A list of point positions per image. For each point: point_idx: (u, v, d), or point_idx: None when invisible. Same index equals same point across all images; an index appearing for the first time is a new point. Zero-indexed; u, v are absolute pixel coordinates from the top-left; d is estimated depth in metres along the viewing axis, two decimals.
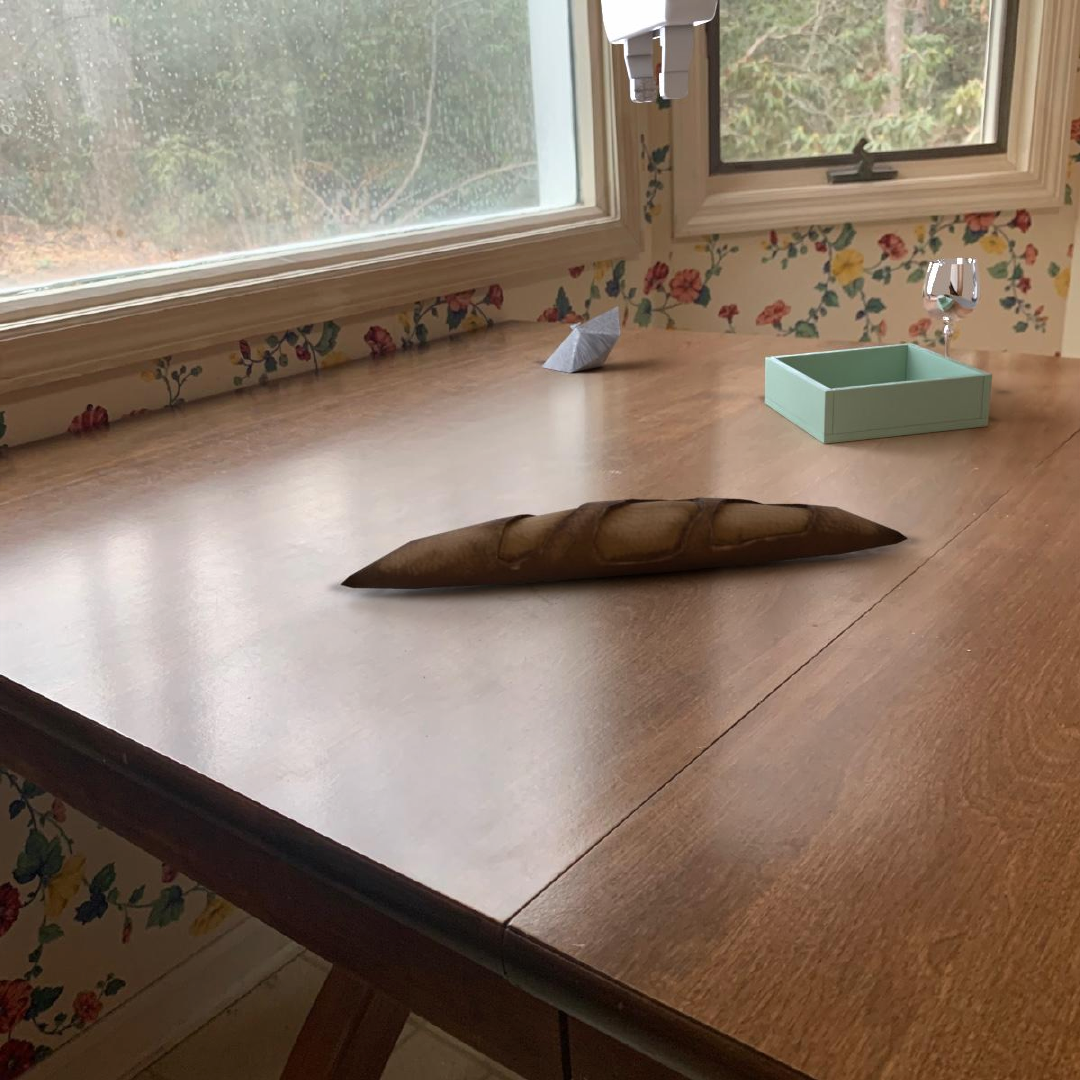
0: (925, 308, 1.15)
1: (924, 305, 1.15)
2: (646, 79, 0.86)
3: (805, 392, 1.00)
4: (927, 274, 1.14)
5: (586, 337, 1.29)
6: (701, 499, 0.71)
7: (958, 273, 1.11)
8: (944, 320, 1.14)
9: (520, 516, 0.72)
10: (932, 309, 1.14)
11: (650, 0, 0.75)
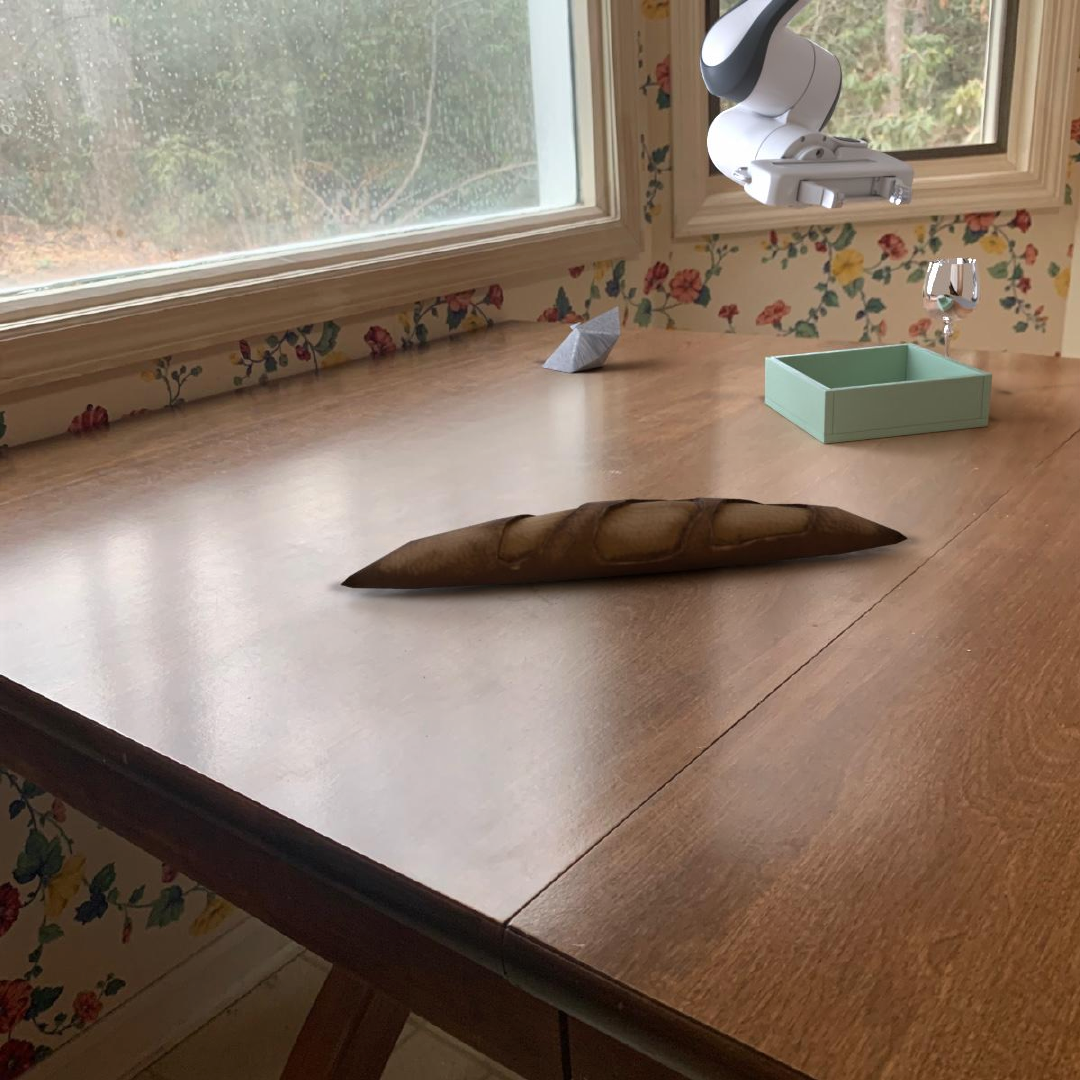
0: (925, 308, 1.15)
1: (924, 305, 1.15)
2: (892, 192, 1.22)
3: (805, 392, 1.00)
4: (927, 274, 1.14)
5: (586, 337, 1.29)
6: (701, 499, 0.71)
7: (958, 273, 1.11)
8: (944, 320, 1.14)
9: (520, 516, 0.72)
10: (932, 309, 1.14)
11: None
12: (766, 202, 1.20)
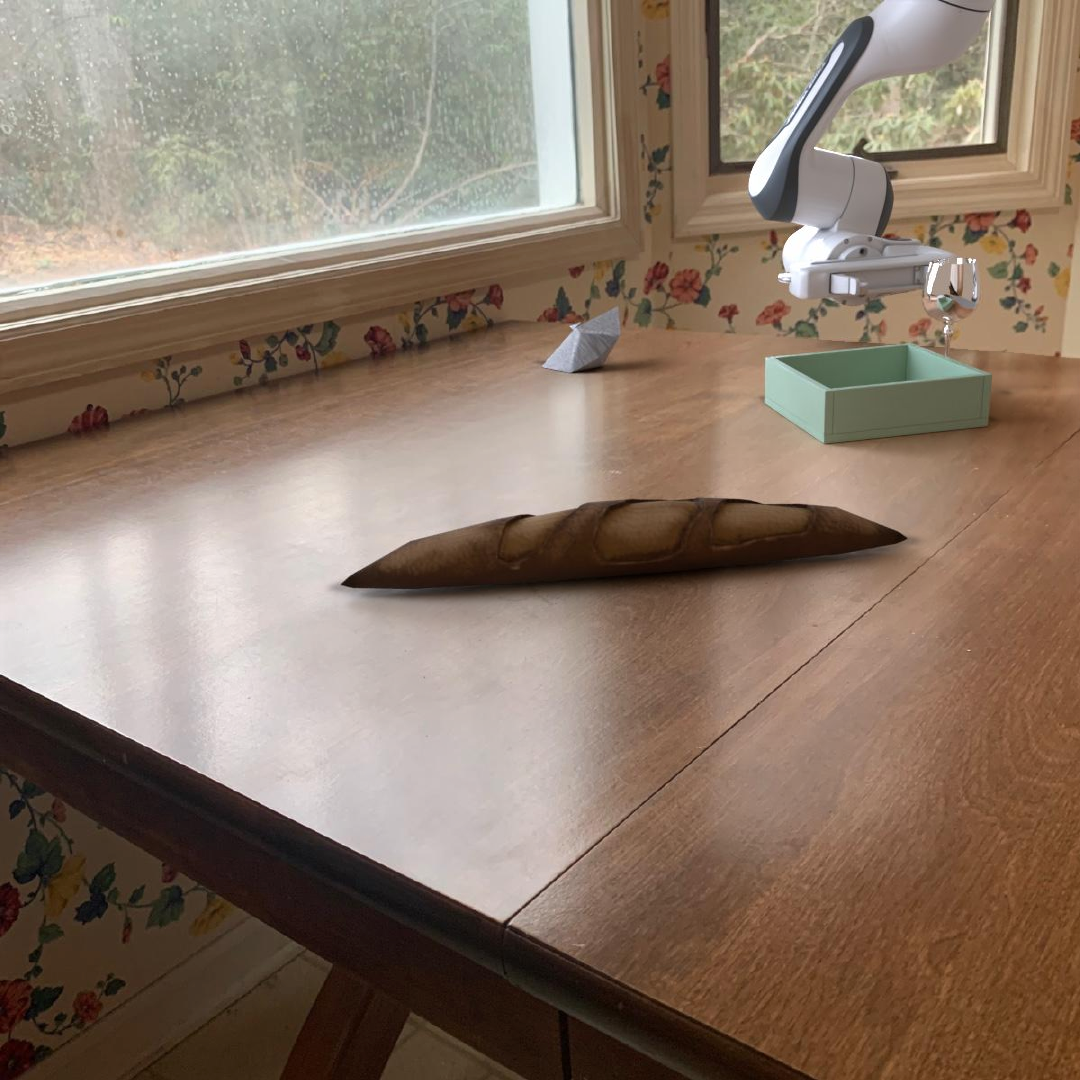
0: (925, 308, 1.15)
1: (924, 305, 1.15)
2: None
3: (805, 392, 1.00)
4: (927, 274, 1.14)
5: (586, 337, 1.29)
6: (701, 499, 0.71)
7: (958, 273, 1.11)
8: (944, 320, 1.14)
9: (520, 516, 0.72)
10: (932, 309, 1.14)
11: None
12: (800, 296, 1.30)
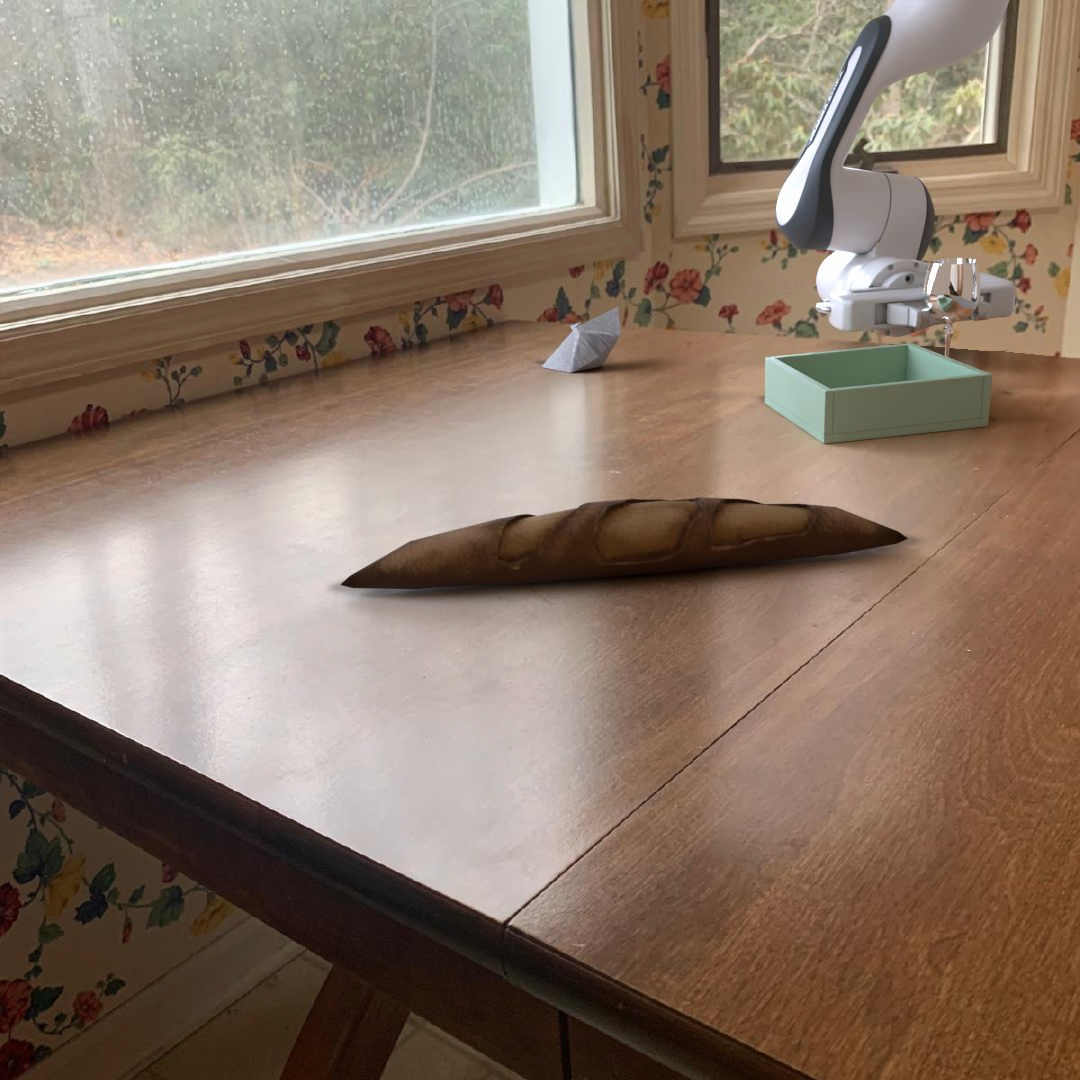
0: None
1: (924, 305, 1.15)
2: None
3: (805, 392, 1.00)
4: (927, 274, 1.14)
5: (586, 337, 1.29)
6: (701, 499, 0.71)
7: (958, 273, 1.11)
8: (944, 320, 1.14)
9: (520, 516, 0.72)
10: (932, 309, 1.14)
11: None
12: (842, 328, 1.19)
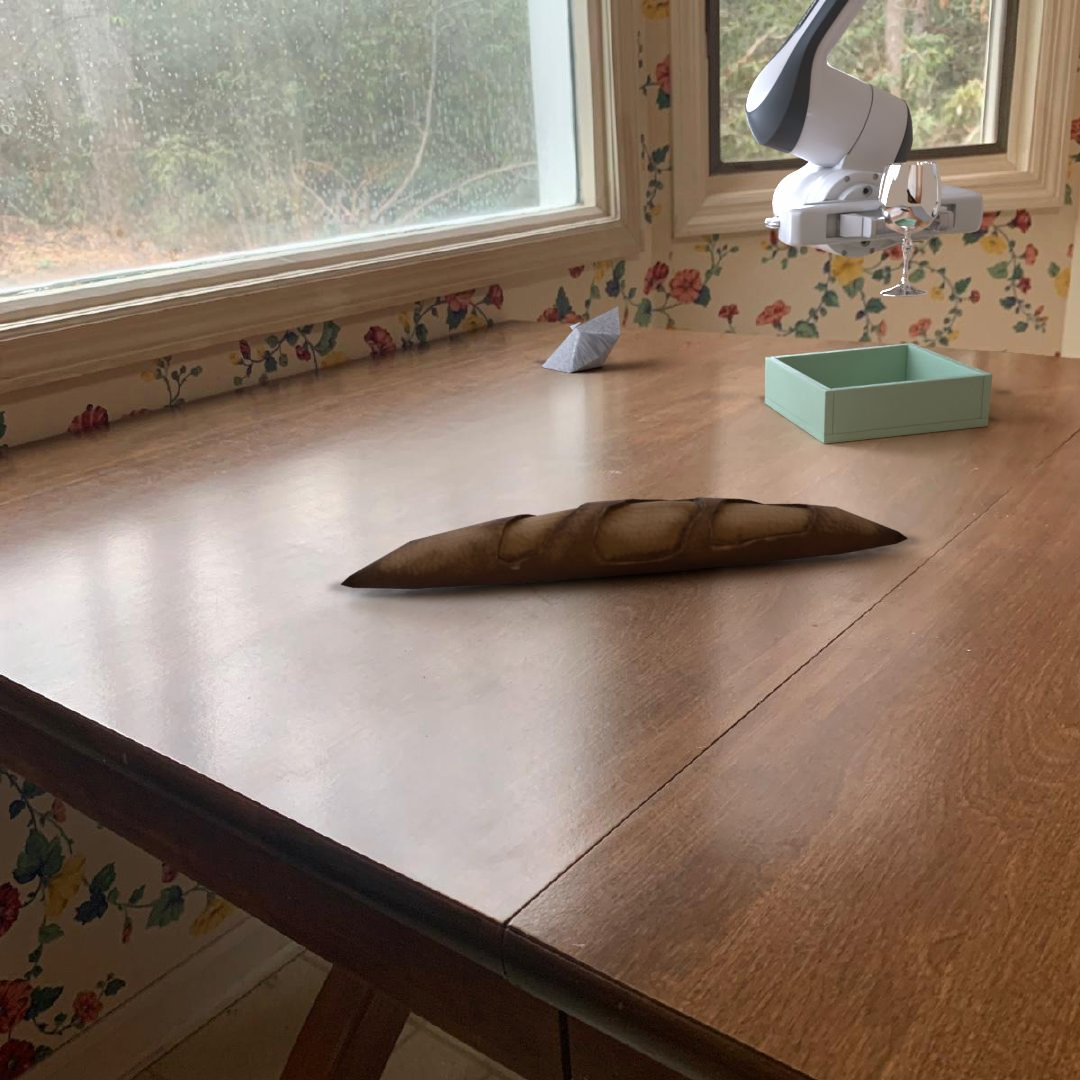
0: None
1: (880, 214, 1.04)
2: None
3: (805, 392, 1.00)
4: (883, 178, 1.03)
5: (586, 337, 1.29)
6: (701, 499, 0.71)
7: (916, 175, 1.00)
8: (902, 230, 1.03)
9: (520, 516, 0.72)
10: (888, 217, 1.03)
11: None
12: (790, 242, 1.08)
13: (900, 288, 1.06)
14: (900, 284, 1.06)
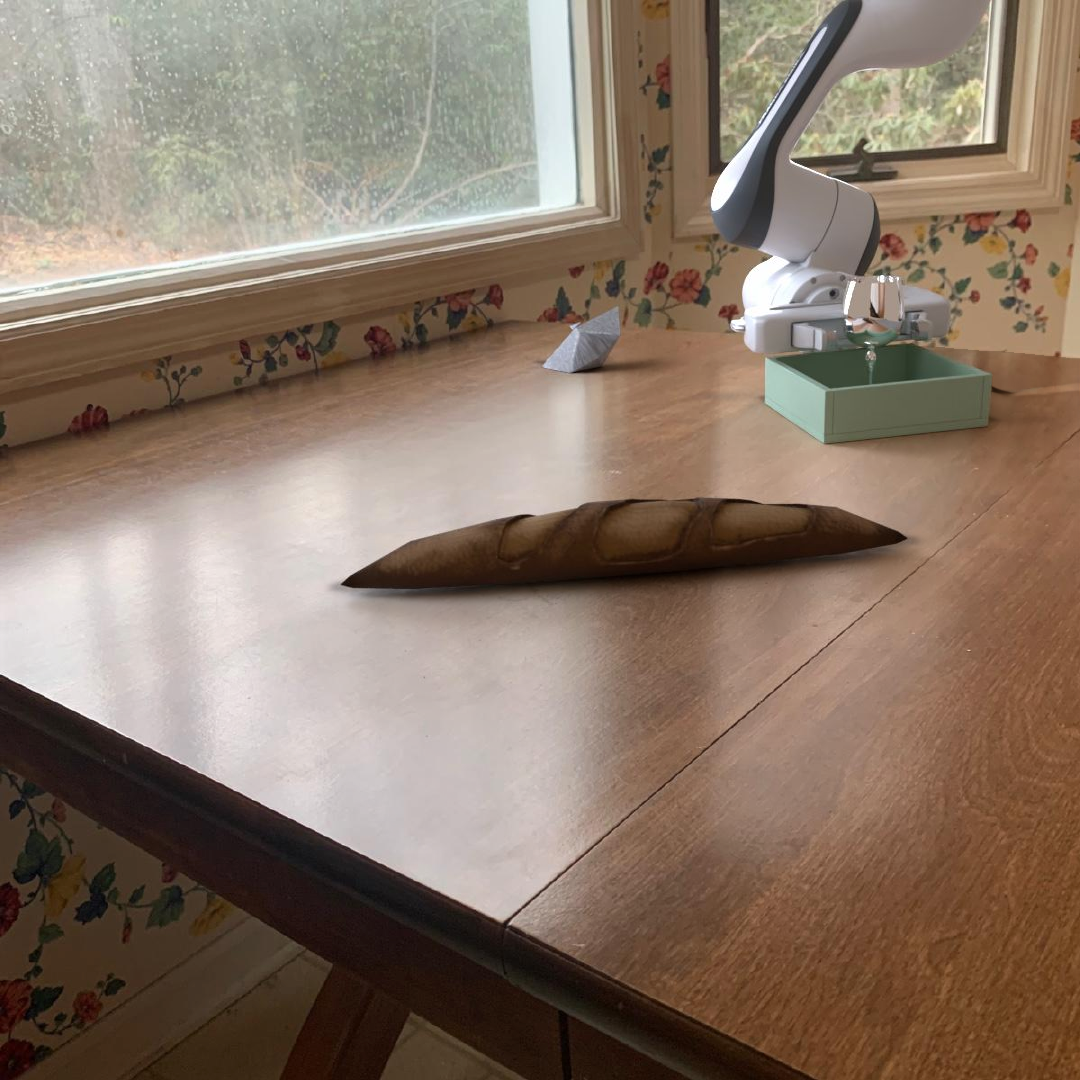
0: (844, 332, 1.02)
1: (842, 328, 1.02)
2: (911, 328, 1.03)
3: (805, 392, 1.00)
4: (845, 294, 1.01)
5: (586, 337, 1.29)
6: (701, 499, 0.71)
7: (878, 293, 0.99)
8: (865, 346, 1.01)
9: (520, 516, 0.72)
10: (850, 334, 1.01)
11: None
12: (755, 350, 1.06)
13: None
14: None
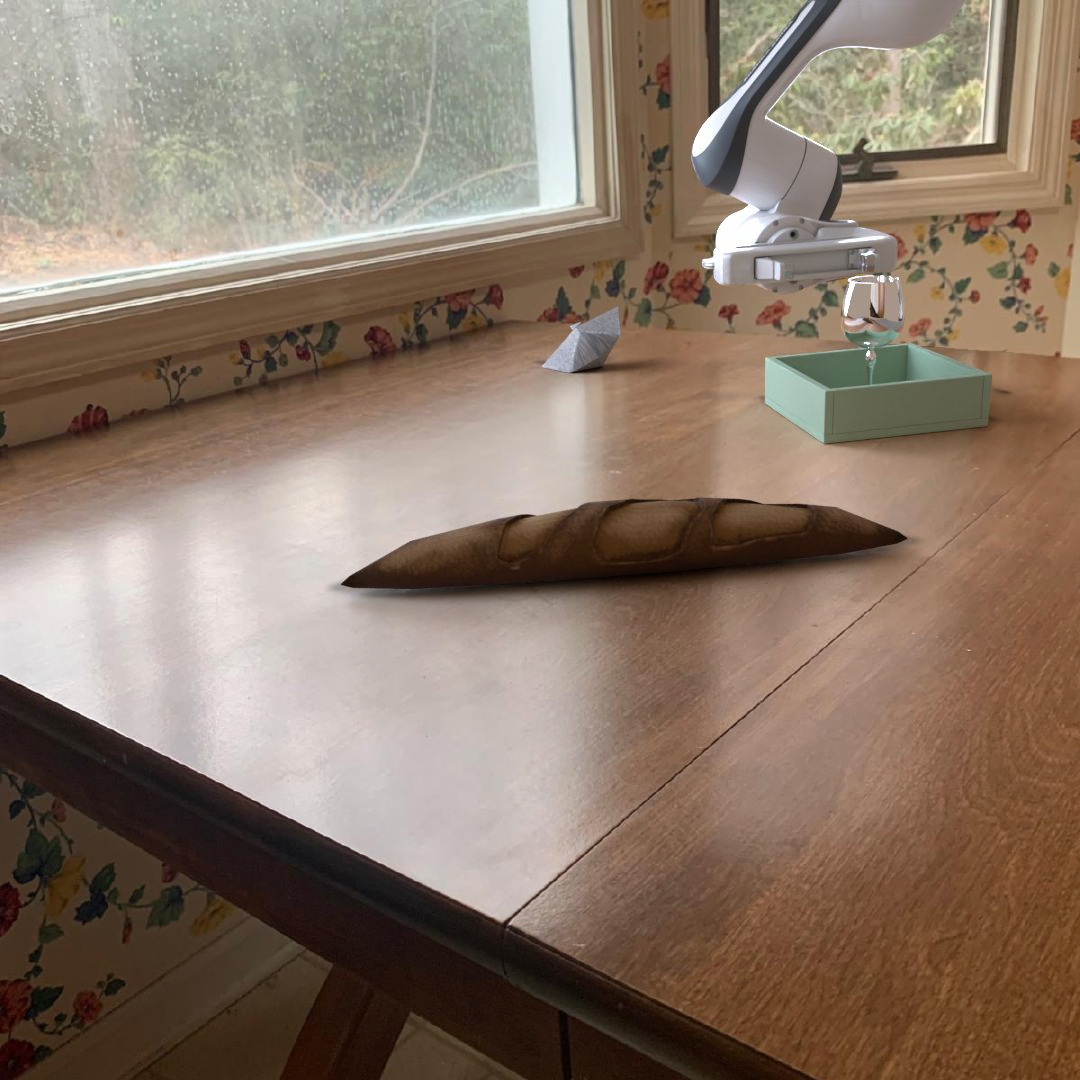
0: (843, 332, 1.02)
1: (842, 328, 1.02)
2: (860, 261, 1.16)
3: (805, 392, 1.00)
4: (845, 294, 1.01)
5: (586, 337, 1.29)
6: (701, 499, 0.71)
7: (878, 293, 0.99)
8: (865, 346, 1.01)
9: (520, 516, 0.72)
10: (850, 334, 1.01)
11: None
12: (722, 282, 1.19)
13: None
14: None
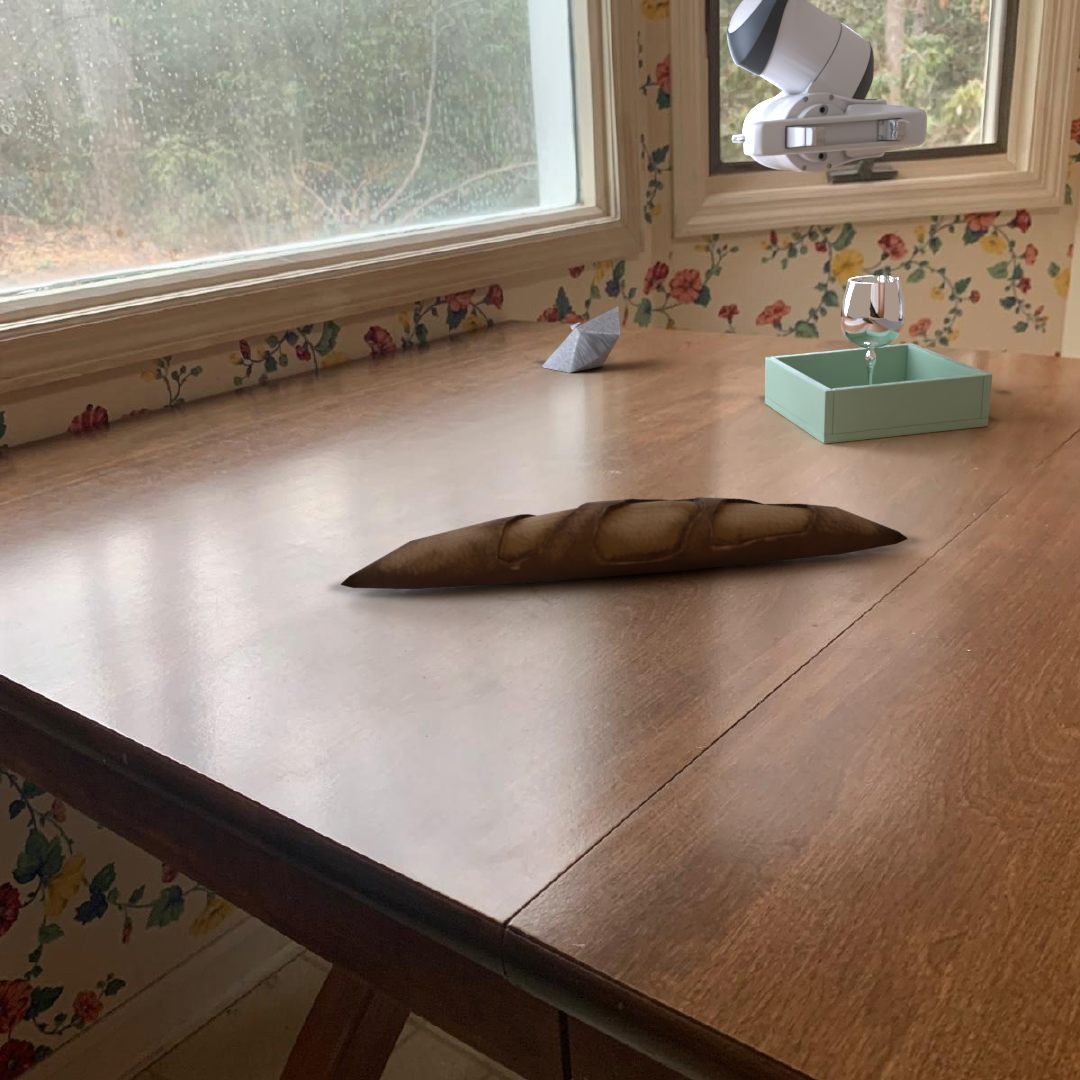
0: (843, 332, 1.02)
1: (842, 328, 1.02)
2: (890, 129, 1.17)
3: (805, 392, 1.00)
4: (845, 294, 1.01)
5: (586, 337, 1.29)
6: (701, 499, 0.71)
7: (878, 293, 0.99)
8: (865, 346, 1.01)
9: (520, 516, 0.72)
10: (850, 334, 1.01)
11: None
12: (753, 152, 1.20)
13: None
14: None
